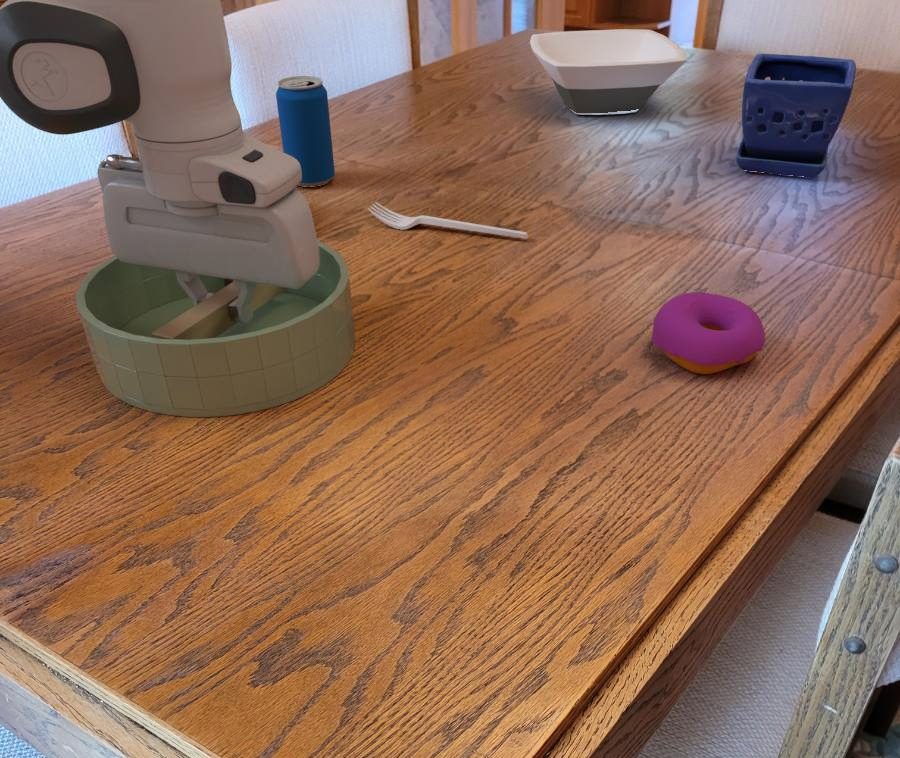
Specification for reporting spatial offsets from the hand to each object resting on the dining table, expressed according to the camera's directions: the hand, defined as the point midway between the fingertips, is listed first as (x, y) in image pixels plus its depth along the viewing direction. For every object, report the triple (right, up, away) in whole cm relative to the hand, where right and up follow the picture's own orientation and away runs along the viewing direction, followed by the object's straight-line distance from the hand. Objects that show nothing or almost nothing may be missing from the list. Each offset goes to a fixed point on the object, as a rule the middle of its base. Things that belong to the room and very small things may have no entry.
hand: (225, 317), depth 86 cm
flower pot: (+67, +32, +37) cm, 83 cm away
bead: (0, +6, +7) cm, 9 cm away
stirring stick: (0, 0, 0) cm, 0 cm away
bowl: (+46, +52, +59) cm, 91 cm away
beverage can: (+3, +29, +36) cm, 46 cm away
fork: (+21, +17, +22) cm, 36 cm away
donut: (+46, -4, 0) cm, 46 cm away
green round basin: (0, -3, +1) cm, 3 cm away
